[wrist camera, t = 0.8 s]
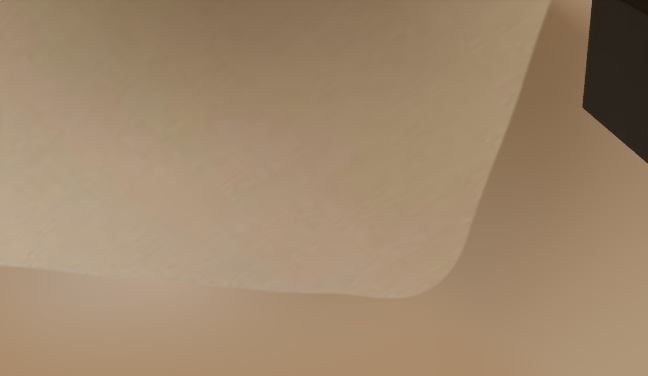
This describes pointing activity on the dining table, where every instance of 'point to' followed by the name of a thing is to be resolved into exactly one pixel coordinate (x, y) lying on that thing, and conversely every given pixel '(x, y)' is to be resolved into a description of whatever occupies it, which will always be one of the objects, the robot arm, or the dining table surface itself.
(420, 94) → the dining table surface
